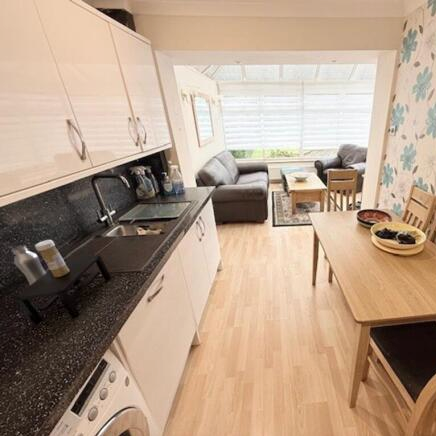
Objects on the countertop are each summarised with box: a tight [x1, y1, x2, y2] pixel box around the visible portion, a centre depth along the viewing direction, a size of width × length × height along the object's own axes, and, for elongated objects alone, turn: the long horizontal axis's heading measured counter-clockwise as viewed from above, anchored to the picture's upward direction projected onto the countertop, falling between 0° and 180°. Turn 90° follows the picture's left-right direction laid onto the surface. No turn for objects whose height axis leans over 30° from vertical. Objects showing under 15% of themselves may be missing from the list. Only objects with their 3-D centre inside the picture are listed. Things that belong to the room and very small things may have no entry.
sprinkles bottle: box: [34, 239, 69, 277], centre depth 85 cm, size 5×5×13 cm
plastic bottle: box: [11, 244, 47, 286], centre depth 96 cm, size 6×7×20 cm
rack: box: [14, 254, 112, 325], centre depth 91 cm, size 14×22×12 cm, turn 8°
